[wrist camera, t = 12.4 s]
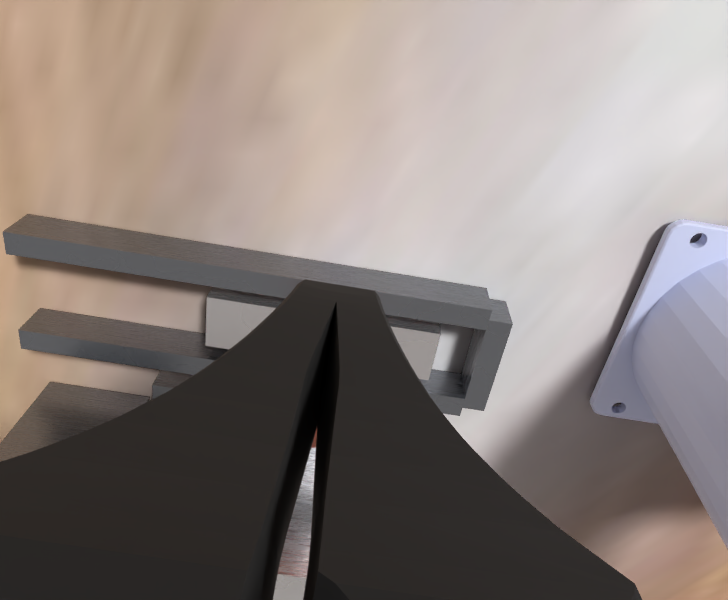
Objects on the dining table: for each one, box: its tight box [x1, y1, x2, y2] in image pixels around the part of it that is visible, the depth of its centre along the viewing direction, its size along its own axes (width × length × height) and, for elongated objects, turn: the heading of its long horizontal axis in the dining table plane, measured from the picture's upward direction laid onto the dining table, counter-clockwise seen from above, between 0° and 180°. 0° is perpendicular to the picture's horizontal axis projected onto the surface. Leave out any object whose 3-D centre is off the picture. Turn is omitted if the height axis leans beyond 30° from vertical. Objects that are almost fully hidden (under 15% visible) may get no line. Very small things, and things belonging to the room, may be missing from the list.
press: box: [0, 214, 513, 462], centre depth 22 cm, size 17×15×6 cm
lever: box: [205, 287, 441, 448], centre depth 20 cm, size 8×2×5 cm, turn 81°
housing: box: [273, 453, 315, 600], centre depth 23 cm, size 4×4×6 cm
